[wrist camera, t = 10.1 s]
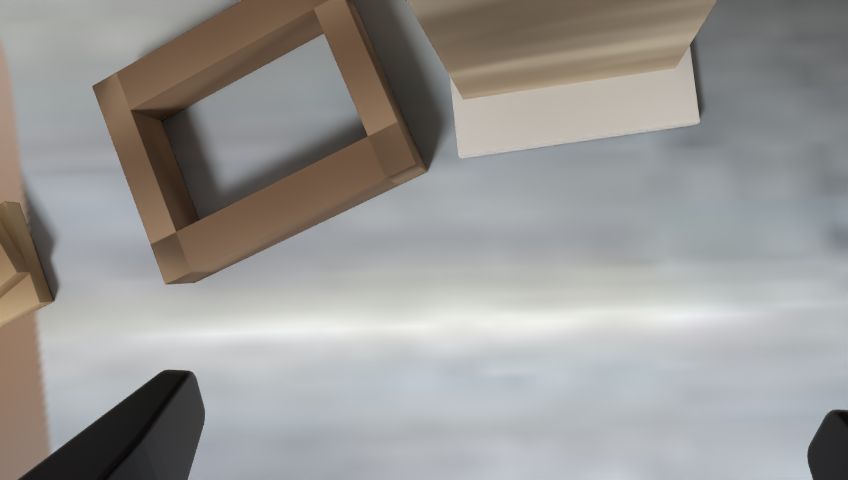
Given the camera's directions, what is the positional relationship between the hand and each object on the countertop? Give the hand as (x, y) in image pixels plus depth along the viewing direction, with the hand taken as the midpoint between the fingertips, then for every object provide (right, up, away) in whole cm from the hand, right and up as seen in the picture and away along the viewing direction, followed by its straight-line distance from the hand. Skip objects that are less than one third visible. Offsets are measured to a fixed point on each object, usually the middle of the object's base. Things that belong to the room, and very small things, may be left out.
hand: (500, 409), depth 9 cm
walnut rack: (-6, +6, +12) cm, 15 cm away
